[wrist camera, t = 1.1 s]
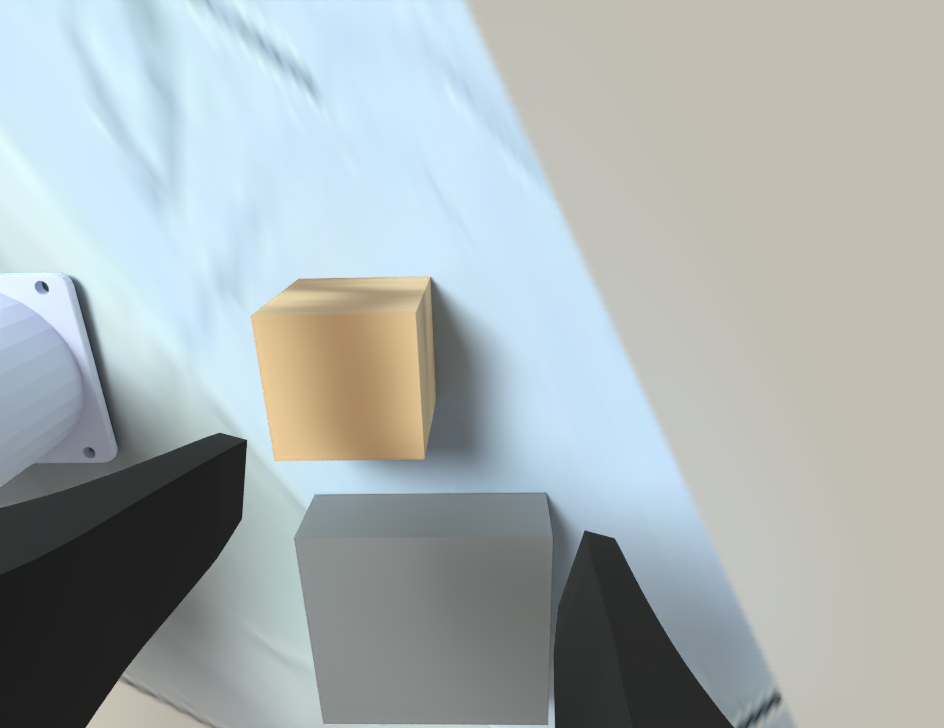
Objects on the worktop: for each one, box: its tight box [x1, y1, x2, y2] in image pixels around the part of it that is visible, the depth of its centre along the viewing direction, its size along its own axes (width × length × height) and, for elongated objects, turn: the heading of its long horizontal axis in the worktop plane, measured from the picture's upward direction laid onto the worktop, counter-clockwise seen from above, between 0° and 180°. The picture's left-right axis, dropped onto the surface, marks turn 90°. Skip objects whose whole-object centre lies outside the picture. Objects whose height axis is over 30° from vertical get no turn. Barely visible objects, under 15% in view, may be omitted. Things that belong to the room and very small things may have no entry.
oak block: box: [251, 276, 437, 461], centre depth 21 cm, size 5×5×5 cm
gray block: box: [294, 493, 553, 725], centre depth 26 cm, size 10×10×3 cm
